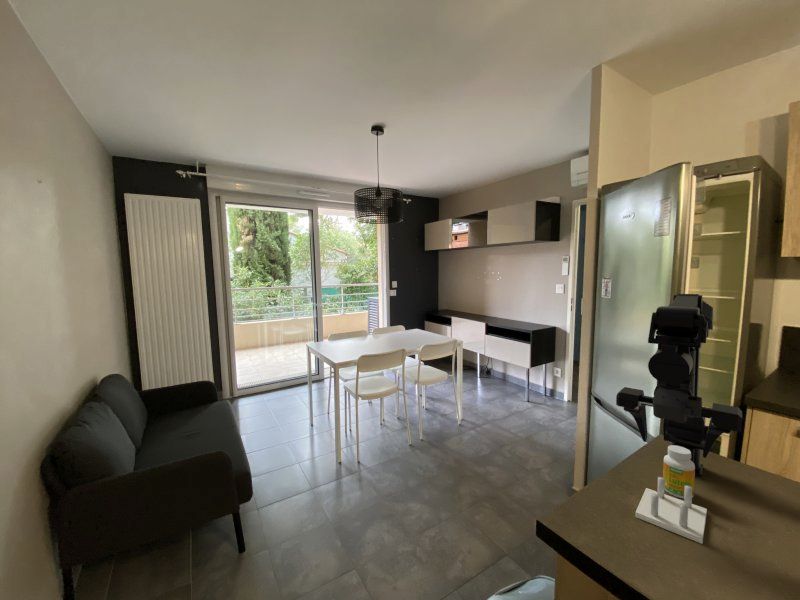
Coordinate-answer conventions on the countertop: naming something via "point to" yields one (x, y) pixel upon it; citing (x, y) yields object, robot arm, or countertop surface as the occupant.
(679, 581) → the countertop surface
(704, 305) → the robot arm
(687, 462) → the supplement bottle
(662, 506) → the pin tray
